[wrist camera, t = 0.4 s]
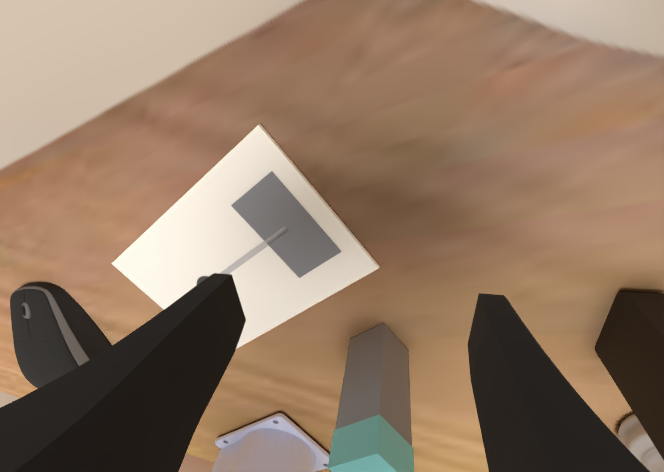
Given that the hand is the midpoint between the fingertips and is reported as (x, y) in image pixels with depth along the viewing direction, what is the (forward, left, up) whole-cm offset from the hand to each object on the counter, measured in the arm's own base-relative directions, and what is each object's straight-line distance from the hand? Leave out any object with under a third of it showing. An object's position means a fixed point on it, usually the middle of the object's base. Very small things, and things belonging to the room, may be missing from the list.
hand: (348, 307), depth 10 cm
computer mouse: (-30, +4, -11) cm, 32 cm away
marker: (-7, -10, -11) cm, 16 cm away
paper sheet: (-11, +1, -11) cm, 15 cm away
